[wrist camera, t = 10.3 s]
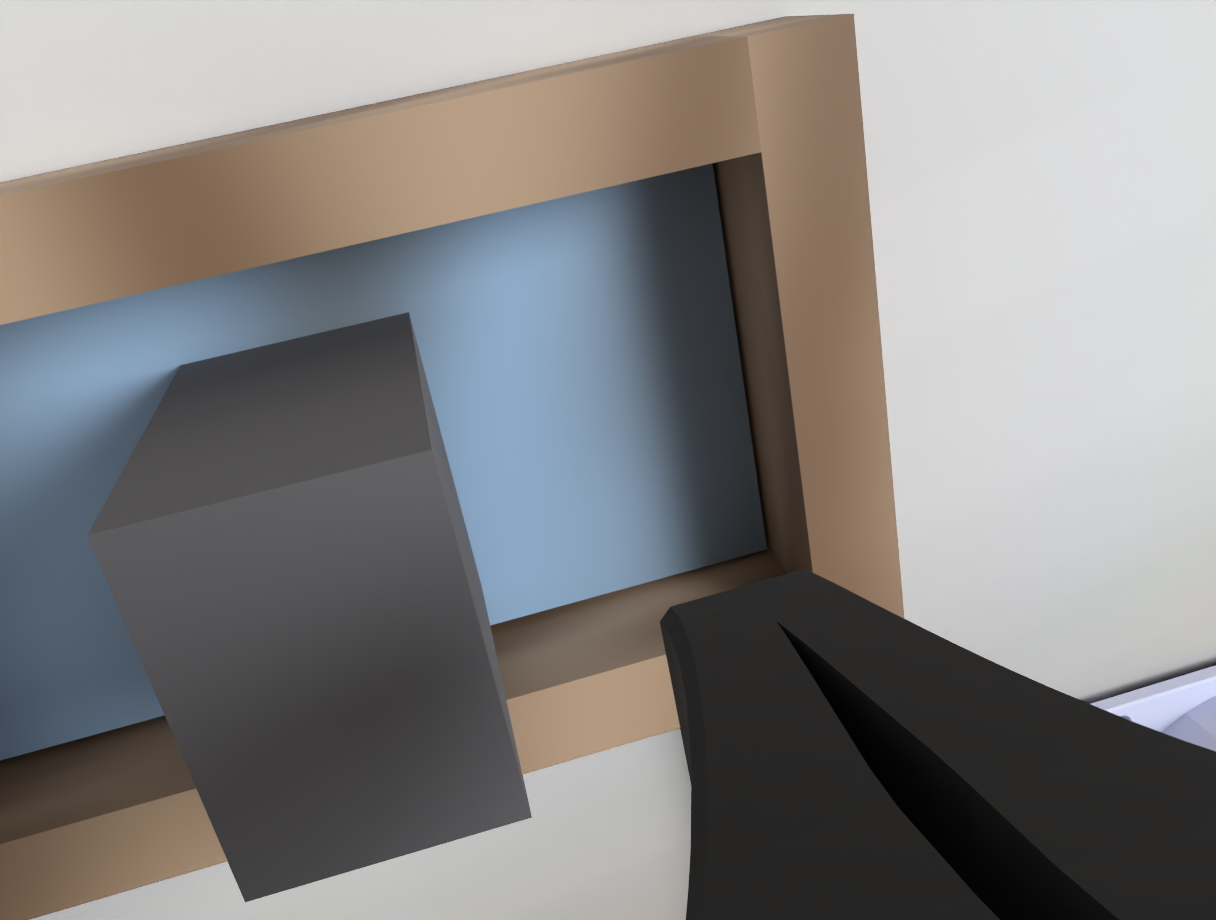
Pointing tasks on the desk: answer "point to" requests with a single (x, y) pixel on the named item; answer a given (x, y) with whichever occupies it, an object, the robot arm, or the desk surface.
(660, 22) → the desk surface
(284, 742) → the tall grey box
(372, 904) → the desk surface
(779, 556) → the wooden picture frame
